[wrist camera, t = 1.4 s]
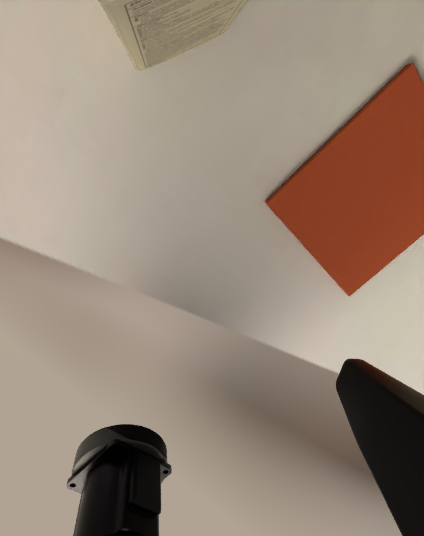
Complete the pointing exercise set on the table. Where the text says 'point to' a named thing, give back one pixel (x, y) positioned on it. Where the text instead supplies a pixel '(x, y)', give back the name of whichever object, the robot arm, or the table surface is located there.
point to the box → (167, 25)
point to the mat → (362, 187)
